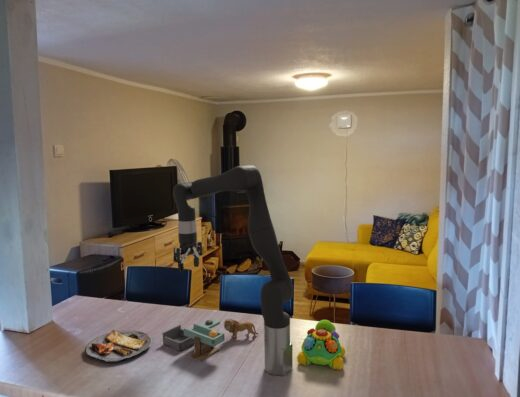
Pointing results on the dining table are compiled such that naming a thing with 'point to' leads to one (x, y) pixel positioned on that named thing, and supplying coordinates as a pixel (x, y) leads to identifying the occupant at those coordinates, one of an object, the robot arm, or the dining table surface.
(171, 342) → the tray
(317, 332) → the turtle toy
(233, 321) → the lion figurine
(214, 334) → the ball
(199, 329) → the lever
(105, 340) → the food plate
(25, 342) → the dining table surface
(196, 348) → the fulcrum
